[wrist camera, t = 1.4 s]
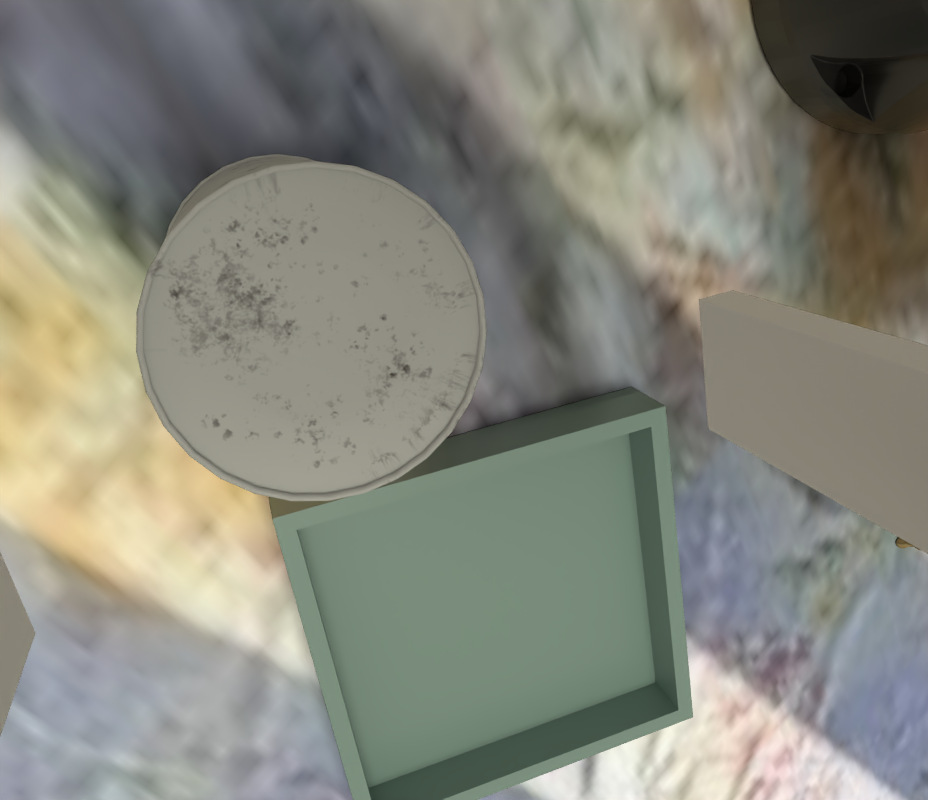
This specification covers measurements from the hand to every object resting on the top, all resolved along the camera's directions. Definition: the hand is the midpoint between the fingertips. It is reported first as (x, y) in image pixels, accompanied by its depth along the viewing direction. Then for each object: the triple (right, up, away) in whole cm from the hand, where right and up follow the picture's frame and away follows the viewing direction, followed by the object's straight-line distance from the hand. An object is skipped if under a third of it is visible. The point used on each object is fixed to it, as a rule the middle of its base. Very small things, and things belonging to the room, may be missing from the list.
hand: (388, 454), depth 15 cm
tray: (+3, -9, +26) cm, 28 cm away
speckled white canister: (-6, +6, +19) cm, 21 cm away
